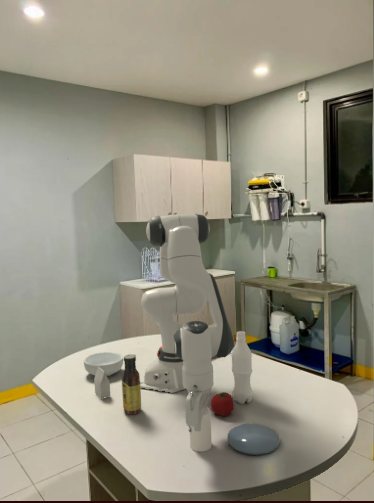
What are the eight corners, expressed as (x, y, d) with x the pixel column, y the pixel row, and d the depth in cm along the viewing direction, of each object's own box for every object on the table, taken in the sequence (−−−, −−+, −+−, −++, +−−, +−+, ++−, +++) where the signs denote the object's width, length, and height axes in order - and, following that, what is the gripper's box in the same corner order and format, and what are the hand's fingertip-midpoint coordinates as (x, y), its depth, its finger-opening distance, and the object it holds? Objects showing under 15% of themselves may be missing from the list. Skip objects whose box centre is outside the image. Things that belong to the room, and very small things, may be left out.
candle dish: (224, 454, 113) (224, 449, 112) (230, 426, 127) (230, 422, 127) (279, 459, 109) (279, 453, 109) (279, 430, 124) (279, 425, 124)
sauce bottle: (124, 407, 143) (121, 353, 141) (141, 406, 143) (139, 351, 142) (122, 416, 136) (119, 359, 135) (141, 415, 137) (138, 358, 135)
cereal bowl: (111, 383, 164) (110, 366, 164) (76, 379, 170) (75, 363, 169) (130, 368, 180) (129, 352, 180) (98, 365, 186) (97, 350, 185)
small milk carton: (101, 399, 150) (99, 373, 149) (95, 393, 156) (93, 368, 155) (110, 396, 152) (109, 371, 151) (104, 390, 158) (102, 365, 157)
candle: (186, 442, 119) (184, 393, 118) (206, 437, 122) (204, 389, 120) (194, 453, 113) (192, 402, 112) (215, 448, 116) (213, 397, 115)
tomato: (233, 419, 132) (233, 398, 131) (209, 418, 133) (208, 397, 132) (235, 408, 139) (234, 388, 139) (212, 407, 141) (211, 387, 140)
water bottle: (254, 397, 147) (252, 330, 145) (251, 406, 140) (249, 336, 138) (235, 395, 149) (233, 329, 147) (230, 404, 142) (228, 334, 140)
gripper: (202, 395, 105) (204, 446, 106) (214, 366, 125) (215, 409, 126) (178, 394, 106) (181, 444, 108) (194, 365, 126) (195, 408, 127)
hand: (199, 425), depth 117 cm, fingers closed on candle, 4 cm apart
